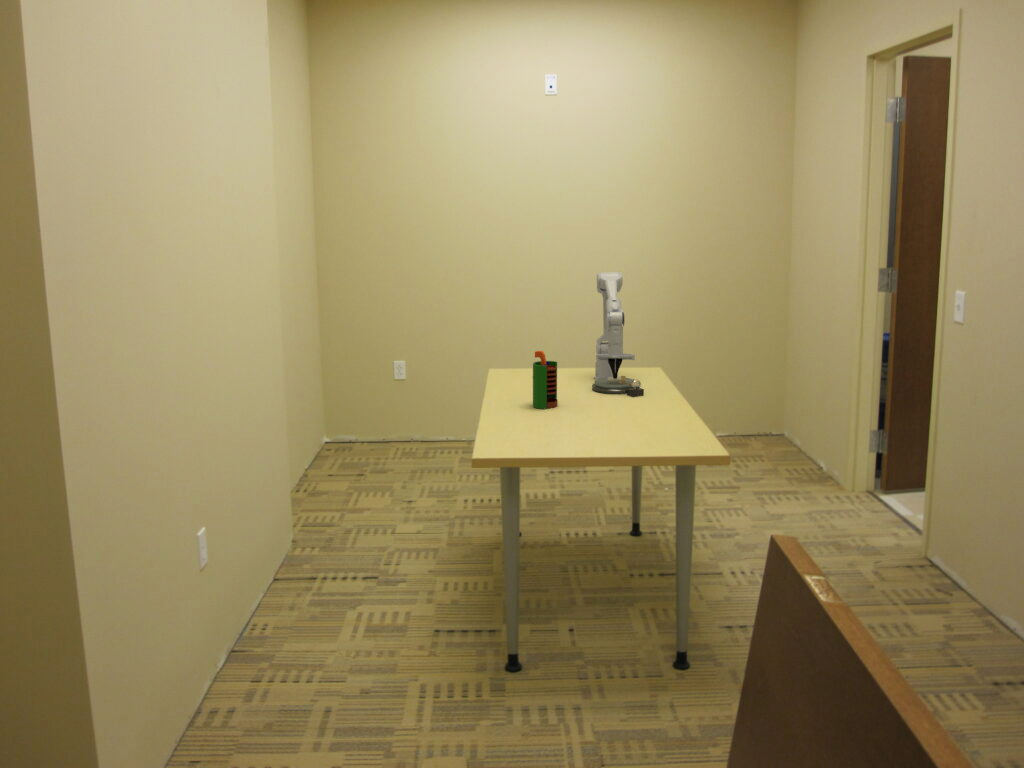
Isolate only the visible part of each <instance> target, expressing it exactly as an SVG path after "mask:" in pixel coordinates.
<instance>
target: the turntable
mask: <svg viewBox="0 0 1024 768" xmlns="http://www.w3.org/2000/svg"><path fill="white" fill-rule="evenodd" d="M634 380H635V379H633V378H630V377H627V376H626V375H621V376H618V377H617V379H613V377H606V378H600V379H594V383H595V386H596V387H598V388H603V389H628V388H632V386H631V385H630V383H631V384H632V382H633V381H634Z"/></svg>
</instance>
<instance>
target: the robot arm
mask: <svg viewBox="0 0 1024 768" xmlns="http://www.w3.org/2000/svg"><path fill="white" fill-rule="evenodd" d="M622 286H623V272H621V271H619V272H618V271H617V272H616V271H610V272H607V271H606V272H605V271H604V272H600V271H598V272H597V273H596V290H597V293H599V294H601V296H602V306H603V307H602V310H603V312H602V313H603V314H602V317H603V318H602V319H603V322H602V324H603V328H602V329H603V334H602V335H600V336H599V337H598V338H597V340H596V346H595V347H596V354H595V363H594V364H595V365H594V369H595V371H594V373H595V374H594V375H595V376H594V377H593V380H597V379H600V378H606V377H613V379H617V377H619V375H618V372H619V369H621V368H620V367H621V365H622V363H623V361H624V360H625V361H626V360H629V361H630V360H631V361H635V353H624V326H625V321H626V319H625V317H626V316H625V311H624V310H623V308H622V301H621V299H620V298H619V297H618V293H620V292H621V290H622Z"/></svg>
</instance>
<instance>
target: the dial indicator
mask: <svg viewBox="0 0 1024 768" xmlns="http://www.w3.org/2000/svg"><path fill="white" fill-rule="evenodd" d="M630 385H631V386H632V388H629V389H627V394H626V396H627V397H631V398H635V397H636V398H637V397H643V396H645V389H644V388H641V385H642V383H641V381H640V380H639V379H634V381H633V382H632V384H631V383H630Z"/></svg>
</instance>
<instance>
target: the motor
mask: <svg viewBox="0 0 1024 768" xmlns="http://www.w3.org/2000/svg"><path fill="white" fill-rule="evenodd" d="M534 358H538V359H539V358H540V360H539V361H534V362H533V363H532V407H533V408H535V409H540V410H547V409H555V408H557V407H558V403H559V402H558V361H556V360H547V359H546V353H544V351H543V350H535V351H534Z"/></svg>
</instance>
